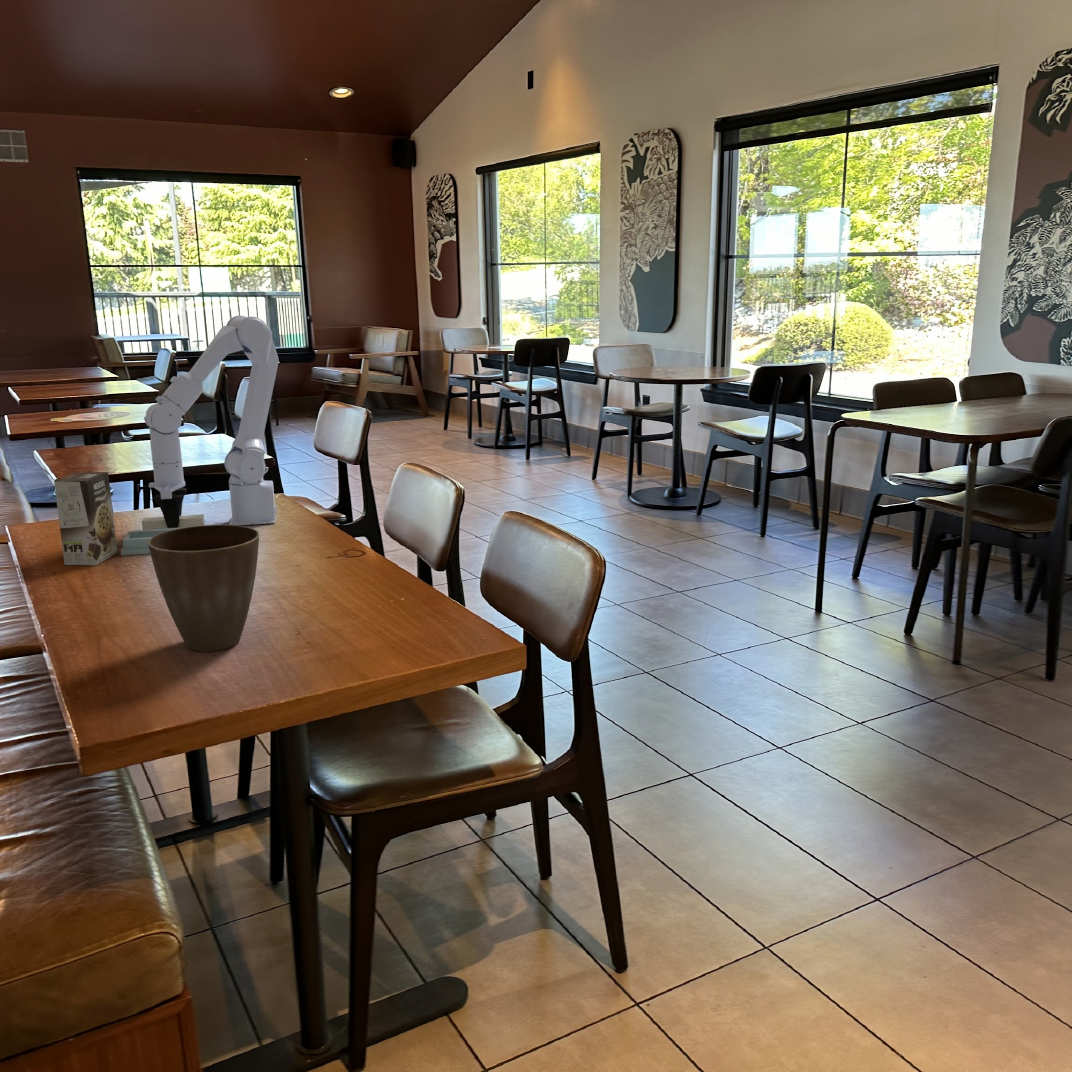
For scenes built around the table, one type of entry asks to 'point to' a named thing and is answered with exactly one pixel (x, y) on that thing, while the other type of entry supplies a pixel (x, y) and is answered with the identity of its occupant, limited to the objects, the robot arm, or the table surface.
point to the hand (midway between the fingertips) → (174, 525)
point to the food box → (86, 518)
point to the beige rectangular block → (183, 522)
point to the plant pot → (207, 581)
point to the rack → (139, 541)
